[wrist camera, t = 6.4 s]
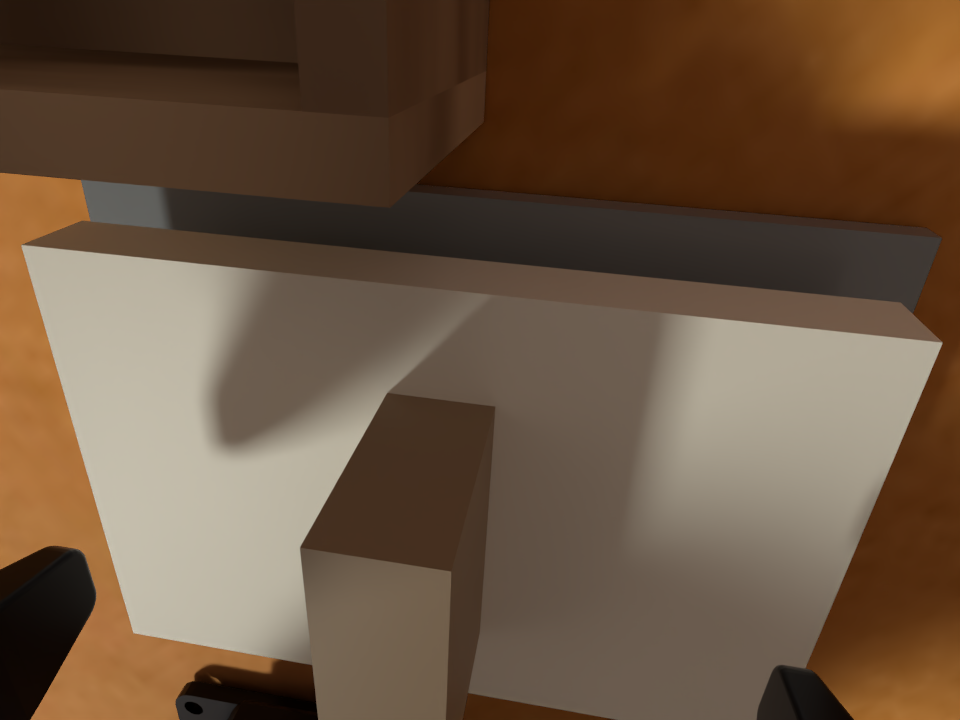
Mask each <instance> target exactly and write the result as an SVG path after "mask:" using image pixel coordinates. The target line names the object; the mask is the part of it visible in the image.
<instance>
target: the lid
mask: <svg viewBox="0 0 960 720" xmlns="http://www.w3.org/2000/svg"><path fill="white" fill-rule="evenodd" d="M21 246H22V249H23V253H24V256H25V260H26V263H27V267H28V270H29V274H30V277H31V280H32V284H33V287H34V291H35V294H36V298H37V301H38V305H39V308H40V312H41V315H42V318H43V322H44V325H45V329H46V332H47V336H48V339H49V343H50V346H51V350H52V353H53V356H54V360H55V363H56V367H57V370H58V374H59V377H60V381H61V384H62V388H63V391H64V394H65V398H66V401H67V405H68V408H69V412H70V415H71V419H72V422H73V426H74V429H75V433H76V436H77V439H78V443H79V446H80V450H81V453H82V457H83V460H84V464H85V467H86V471H87V474H88V477H89V481H90V484H91V488H92V491H93V495H94V498H95V502H96V505H97V509H98V512H99V515H100V519H101V522H102V526H103V529H104V533H105V536H106V540H107V543H108V547H109V550H110V553H111V557H112V560H113V564H114V567H115V571H116V574H117V578H118V581H119V585H120V588H121V591H122V595H123V598H124V602H125V605H126V609H127V612H128V616H129V619H130V623H131V626H132V629H133V633H136V634H142V635H147V636H153V637H158V638H164V639H169V640H175V641H181V642H186V643H192V644H197V645H203V646H208V647H214V648H220V649H225V650H231V651H236V652H242V653H247V654H253V655H259V656H264V657H270V658H275V659H281V660H287V661H292V662H298V663H303V664H309V665H312V666H313V676H314V685H315V694H316V703H317V713H318V720H463V716H464V711H465V706H466V701H467V695H468V693H471V694H476V695H482V696H487V697H493V698H498V699H504V700H510V701H515V702H521V703H526V704H532V705H537V706H543V707H549V708H554V709H560V710H565V711H571V712H576V713H582V714H588V715H593V716H599V717H604V718H610V719H616V720H757V711H758V707H759V704H760V701H761V698H762V696H763V693H764V691H765V688H766V685H767V683H768V680H769V678H770V675H771V672H772V671H773V669H774V668H775V667H776V666H777V665H787V666H793V667H799V668H806V666H807V663H808V661H809V659H810V656H811V654H812V651H813V649H814V647H815V644H816V642H817V640H818V637H819V635H820V633H821V630H822V628H823V625H824V623H825V621H826V618H827V616H828V614H829V611H830V609H831V606H832V604H833V602H834V599H835V597H836V595H837V592H838V590H839V588H840V585H841V583H842V580H843V578H844V576H845V573H846V571H847V569H848V566H849V564H850V561H851V559H852V557H853V554H854V552H855V550H856V547H857V545H858V543H859V540H860V538H861V535H862V533H863V531H864V528H865V526H866V524H867V521H868V519H869V516H870V514H871V512H872V509H873V507H874V505H875V502H876V500H877V498H878V495H879V493H880V490H881V488H882V486H883V483H884V481H885V479H886V476H887V474H888V471H889V469H890V467H891V464H892V462H893V460H894V457H895V455H896V453H897V450H898V448H899V445H900V443H901V441H902V438H903V436H904V434H905V431H906V429H907V426H908V424H909V422H910V419H911V417H912V415H913V412H914V410H915V408H916V405H917V403H918V400H919V398H920V396H921V393H922V391H923V389H924V386H925V384H926V381H927V379H928V377H929V374H930V372H931V370H932V367H933V365H934V363H935V360H936V358H937V355H938V353H939V351H940V348H941V346H942V344H943V342H942V341H941V340H940V339H939V338H937V337H936V336H935V335H934V334H933V333H932V332H931V331H930V330H929V329H928V328H927V327H926V326H925V325H924V324H923V323H922V322H921V321H920V320H919V319H917V318H916V317H915V316H914V315H913V314H912V313H911V312H910V311H909V310H908V309H907V308H906V307H905V306H904V305H903V304H902V303H900V302H890V301H880V300H870V299H860V298H850V297H840V296H830V295H820V294H810V293H800V292H790V291H780V290H770V289H760V288H750V287H740V286H730V285H720V284H710V283H700V282H690V281H680V280H670V279H660V278H650V277H640V276H630V275H620V274H610V273H600V272H590V271H580V270H570V269H560V268H550V267H540V266H530V265H520V264H510V263H500V262H490V261H480V260H470V259H460V258H450V257H440V256H430V255H420V254H410V253H400V252H390V251H380V250H370V249H360V248H350V247H340V246H330V245H320V244H310V243H300V242H290V241H280V240H270V239H260V238H250V237H240V236H230V235H220V234H210V233H200V232H190V231H180V230H170V229H160V228H150V227H140V226H130V225H120V224H110V223H100V222H90V221H80V222H78V223H75V224H73V225H70V226H68V227H65V228H63V229H60V230H58V231H55V232H53V233H50V234H48V235H45V236H43V237H40V238H37V239H35V240H32V241H30V242H27V243H25V244H22V245H21Z"/></svg>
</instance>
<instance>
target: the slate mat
mask: <svg viewBox="0 0 960 720" xmlns="http://www.w3.org/2000/svg"><path fill="white" fill-rule="evenodd" d="M81 182H82V186H83V190H84V195H85V199H86V203H87V207H88V212H89V216H90V220H91V222H100V223H110V224H120V225H130V226H140V227H150V228H160V229H170V230H180V231H190V232H200V233H210V234H220V235H230V236H240V237H250V238H260V239H270V240H280V241H290V242H300V243H310V244H320V245H330V246H340V247H350V248H360V249H370V250H380V251H390V252H400V253H410V254H420V255H430V256H440V257H450V258H460V259H470V260H480V261H490V262H500V263H510V264H520V265H530V266H540V267H550V268H560V269H570V270H580V271H590V272H600V273H610V274H620V275H630V276H640V277H650V278H660V279H670V280H680V281H690V282H700V283H710V284H720V285H730V286H740V287H750V288H760V289H770V290H780V291H790V292H800V293H810V294H820V295H830V296H840V297H850V298H860V299H870V300H880V301H890V302H900V303H902V304H903V305H904V306H905V307H906V308H907V309H908V310H909V311H910V312H911V313H912V314H913V312H914V310H915V307H916V304H917V302H918V299H919V297H920V294H921V292H922V289H923V286H924V284H925V281H926V279H927V276H928V273H929V271H930V268H931V266H932V263H933V261H934V258H935V255H936V253H937V250H938V248H939V245H940V242H941V240H942V238H941V237H940V236H938V235H937V234H935V233H934V232H932V231H931V230H929V229H927V228H923V227H911V226H900V225H888V224H876V223H864V222H853V221H841V220H829V219H818V218H806V217H794V216H783V215H771V214H759V213H748V212H736V211H724V210H713V209H701V208H689V207H678V206H666V205H654V204H642V203H631V202H619V201H607V200H596V199H584V198H572V197H561V196H549V195H537V194H526V193H514V192H502V191H491V190H479V189H467V188H456V187H444V186H432V185H421V184H416V185H414V186H413V187H412V188H411V189H410V190H409V191H408V192H407V193H406V194H405V195H404V196H402V197H401V198H400V199H399V200H398V201H397V202H396V203H395V204H394V205H393V206H392V207H390V208H387V207H376V206H365V205H354V204H343V203H331V202H320V201H309V200H298V199H287V198H276V197H265V196H254V195H243V194H232V193H221V192H210V191H199V190H188V189H177V188H166V187H155V186H143V185H132V184H121V183H110V182H99V181H88V180H81Z"/></svg>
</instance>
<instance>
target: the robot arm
mask: <svg viewBox="0 0 960 720" xmlns="http://www.w3.org/2000/svg"><path fill="white" fill-rule="evenodd" d="M95 601H96V589H95V586H94V583H93V580H92V577H91V573H90V570H89V567H88V564H87V561H86V558H85V555H84V554H83V553H82V552H81V551H80V550H78V549H73V548H67V547H61V546H49V547H45V548H43V549H41V550H39V551H37V552H35V553H33V554H31V555H29V556H27V557H25V558H23V559H21V560H19V561H17V562H15V563H13V564H11V565H9V566H7V567H5V568H3V569H0V720H30V719H31V717H32V716H33V714H34V712H35V711H36V709H37V708H38V706H39V704H40V703H41V701H42V699H43V697H44V696H45V694H46V692H47V690H48V688H49V687H50V685H51V683H52V681H53V680H54V678H55V676H56V674H57V673H58V671H59V669H60V667H61V666H62V664H63V662H64V660H65V658H66V657H67V655H68V653H69V651H70V650H71V648H72V646H73V644H74V643H75V641H76V639H77V637H78V635H79V634H80V632H81V630H82V628H83V627H84V625H85V623H86V621H87V620H88V618H89V616H90V614H91V612H92V610H93V608H94V605H95ZM176 708H177V711H178V715H179V719H180V720H318V713H317V704H316V703H311V702H306V701H300V700H295V699H289V698H284V697H279V696H273V695H268V694H262V693H257V692H252V691H246V690H241V689H235V688H230V687H225V686H219V685H214V684H209V683H203V682H194V681H192V682H189V683H187V684H186V685H185V686H184V688H183V689H182V691H181V693H180V694H179V696H178V697H177V699H176ZM757 720H854V719H853V718H852V717H851V716H850V714H849V713H848V712H847V711H846V709H845V708H844V707H843V706H842V704H841V703H840V702H839V701H838V700H837V698H836V697H835V696H834V695H833V693H832V692H831V691H830V690H829V688H828V687H827V686H826V685H825V684H824V682H823V681H822V680H821V679H820V677H819V676H818V675H817V674H815V673H814V672H813V671H811V670H809V669H805V668H799V667H793V666H787V665H777V666H776V667H775V668H774V669H773V671H772V672H771V675H770V678H769V680H768V683H767V685H766V688H765V691H764V693H763V696H762V698H761V701H760V704H759V707H758V711H757Z"/></svg>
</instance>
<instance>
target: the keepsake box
mask: <svg viewBox="0 0 960 720" xmlns="http://www.w3.org/2000/svg"><path fill="white" fill-rule="evenodd" d="M489 3H490V0H0V173H11V174H22V175H33V176H44V177H55V178H66V179H77V180H88V181H99V182H110V183H121V184H132V185H143V186H155V187H166V188H177V189H188V190H199V191H210V192H221V193H232V194H243V195H254V196H265V197H276V198H287V199H298V200H309V201H320V202H331V203H343V204H354V205H365V206H376V207H387V208H390V207H392V206H393V205H394V204H395V203H396V202H397V201H398V200H399V199H400V198H401V197H402V196H404V195H405V194H406V193H407V192H408V191H409V190H410V189H411V188H412V187H413V186H414V185H416V184H417V183H418V182H419V181H420V180H421V179H422V178H423V177H424V176H425V175H427V174H428V173H429V172H430V171H431V170H432V169H433V168H434V167H435V166H436V165H437V164H439V163H440V162H441V161H442V160H443V159H444V158H445V157H446V156H447V155H448V154H450V153H451V152H452V151H453V150H454V149H455V148H456V147H457V146H458V145H459V144H460V143H462V142H463V141H464V140H465V139H466V138H467V137H468V136H469V135H470V134H471V133H473V132H474V131H475V130H476V129H477V128H478V127H479V126H480V125H481V124H482V123H483V122H484V109H485V88H486V67H487V45H488V24H489Z"/></svg>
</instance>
